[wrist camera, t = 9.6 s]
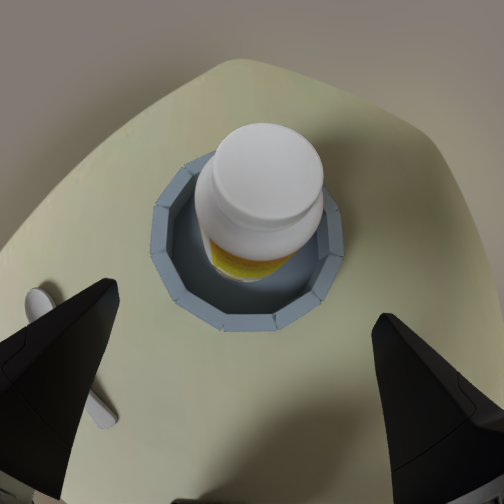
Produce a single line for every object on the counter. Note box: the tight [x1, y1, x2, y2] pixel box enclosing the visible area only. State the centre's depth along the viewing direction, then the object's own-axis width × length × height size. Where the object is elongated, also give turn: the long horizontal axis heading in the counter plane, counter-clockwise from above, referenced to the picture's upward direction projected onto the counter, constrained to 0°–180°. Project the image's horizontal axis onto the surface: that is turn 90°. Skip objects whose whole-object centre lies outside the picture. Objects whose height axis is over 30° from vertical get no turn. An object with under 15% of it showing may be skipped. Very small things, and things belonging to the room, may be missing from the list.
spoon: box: [25, 288, 117, 429], centre depth 17 cm, size 3×12×2 cm, turn 35°
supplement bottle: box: [195, 123, 324, 282], centre depth 15 cm, size 6×6×10 cm
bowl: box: [150, 150, 344, 332], centre depth 19 cm, size 12×12×3 cm
